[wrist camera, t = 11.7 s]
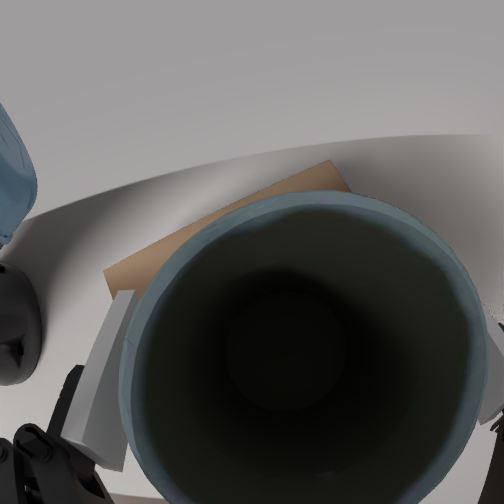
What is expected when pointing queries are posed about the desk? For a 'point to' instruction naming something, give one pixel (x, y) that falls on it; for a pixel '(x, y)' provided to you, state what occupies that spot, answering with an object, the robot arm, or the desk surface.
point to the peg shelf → (155, 255)
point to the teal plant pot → (305, 357)
